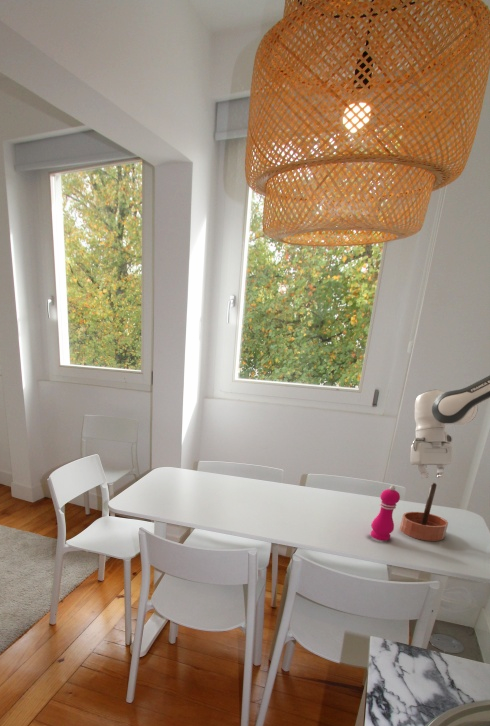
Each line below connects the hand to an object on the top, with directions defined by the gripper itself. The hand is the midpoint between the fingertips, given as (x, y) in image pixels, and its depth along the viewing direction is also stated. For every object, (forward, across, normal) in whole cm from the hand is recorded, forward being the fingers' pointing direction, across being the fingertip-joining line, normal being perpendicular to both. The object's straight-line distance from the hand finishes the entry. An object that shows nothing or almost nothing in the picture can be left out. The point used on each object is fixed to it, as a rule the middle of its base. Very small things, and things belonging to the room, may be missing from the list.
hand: (432, 477), depth 163 cm
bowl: (+20, +5, +8) cm, 22 cm away
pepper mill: (+20, -12, +13) cm, 27 cm away
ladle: (+20, +5, +8) cm, 22 cm away
